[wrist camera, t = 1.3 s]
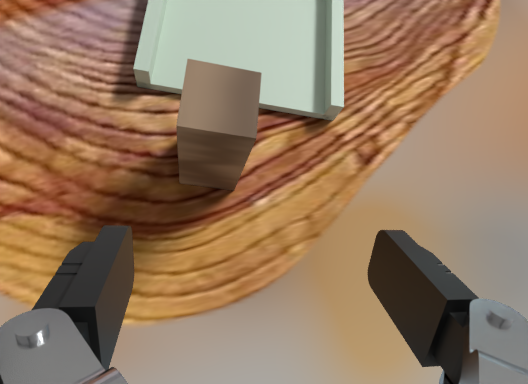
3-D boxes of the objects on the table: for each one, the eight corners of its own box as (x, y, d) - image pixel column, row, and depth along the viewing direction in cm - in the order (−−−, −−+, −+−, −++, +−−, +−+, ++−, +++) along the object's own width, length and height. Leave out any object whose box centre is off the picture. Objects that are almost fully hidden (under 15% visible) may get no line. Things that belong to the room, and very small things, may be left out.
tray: (137, 86, 31) (133, 68, 28) (169, -63, 36) (167, -88, 34) (332, 120, 34) (343, 107, 31) (333, -22, 39) (343, -42, 37)
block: (179, 183, 29) (176, 125, 20) (187, 134, 30) (187, 58, 21) (233, 190, 30) (256, 138, 20) (238, 142, 31) (261, 72, 22)
